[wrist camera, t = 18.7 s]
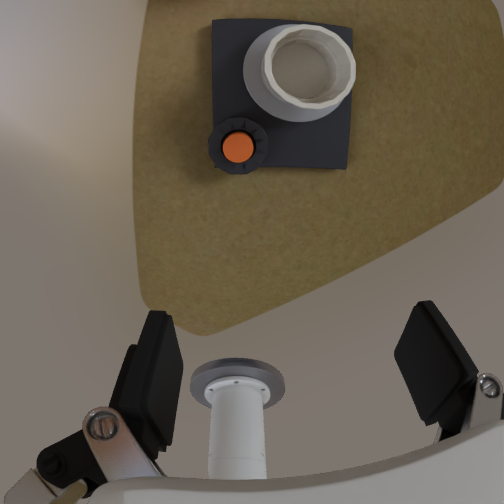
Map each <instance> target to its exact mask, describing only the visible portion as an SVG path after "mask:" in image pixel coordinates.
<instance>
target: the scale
mask: <svg viewBox="0 0 504 504" xmlns="http://www.w3.org/2000/svg"><path fill="white" fill-rule="evenodd" d="M288 24H299V25H301V24H307V25H316V26H322V27H324V28H326V29H328V30H330V31H332V32H334V33H335V34H337V35H338V36H339V37H340V38H341V39H342V40H343V41H344V42H345V43H346V44H347V45H348V46H349V48H350V50H351V52H352V55H353V41H352V28H346V27H341V26H335V25H328V24H321V23H314V22H305V21H294V20H280V19H218V20H212V89H213V132H212V134H211V135H210V137H209V140H208V144H209V155H210V157H211V159H212V160H213V162H214V163H215V168H217V167H218V168H220V169H222V170H224V171H226V172H228V173H229V174H248V173H249V172H251V171H253V170H255V169H257V168H259V167H303V168H327V169H344V170H346V167H347V157H348V146H349V133H350V118H351V99H352V88H351V90H350V92H349V94H348V95H347V96H346V97H344V99H343V101H342V102H341V103H340V105H339V106H338V107H337V108H336V109H335V110H334V111H332V112H331V113H330V114H328V115H326V116H324V117H322V118H320V119H317V120H314V121H309V122H291V121H286V120H283V119H280V118H277V117H275V116H273V115H271V114H269V113H268V112H266V111H265V110H263V109H262V108H261V107H260V106H259V105H258V104H257V103H256V102H255V101H254V99H253V98H252V97H251V95H250V93H249V91H248V90H247V87H246V84H245V81H244V75H243V65H244V60H245V56H246V53H247V51H248V49H249V47H250V46H251V44H252V43H253V42H254V41H255V40H256V39H257V38H258V37H259V36H260V35H261V34H263V33H264V32H266V31H268V30H269V29H272V28H274V27H277V26H281V25H288ZM234 132H243V133H246V134H247V135H248V136H249V137H250V138H251V139H252V142H253V153H252V155H251V157H250V158H249V159H248V160H246V161H244V162H241V163H236V162H232V161H230V160H228V159H227V158H226V156H225V155H224V153H223V144H224V141H225V139H226V138H227V137H228V136H229V135H230V134H231V133H234Z"/></svg>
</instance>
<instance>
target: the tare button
mask: <svg viewBox="0 0 504 504" xmlns="http://www.w3.org/2000/svg"><path fill="white" fill-rule="evenodd" d="M223 153H224V155H225V156H226V158H227V159H228V160H230V161H232V162H236V163H241V162H244V161H246V160H248V159H249V158H250V157H251V155H252V153H253V142H252V139H251V138H250V137H249V136H248V135H247V134H246V133H243V132H234V133H231V134H230V135H229V136H228V137H227V138H226V139H225V141H224V144H223Z"/></svg>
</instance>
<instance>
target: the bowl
mask: <svg viewBox="0 0 504 504" xmlns="http://www.w3.org/2000/svg"><path fill="white" fill-rule="evenodd" d="M261 78H262V80H263V82H264V84H265V87H266V89H267V90H268V91H269V92H270V93H271V94H272V95H273V96H274V97H275V98H276V99H277V100H279V101H281V102H283V103H286V104H288V105H290V106H295V107H299V108H307V109H323V108H326V107H329V106H333V105H336V104H337V103H339V102H340V101H341V100H342V99H343V98H344V97H346V96H347V95H348V94H349V92H350V90H351V88H352V86H353V84H354V82H355V79H356V62H355V60H354V57H353V55H352V52H351V50H350V48H349V46H348V45H347V44H346V43H345V42H344V41H343V40H342V39H341V38H340V37H339V36H338V35H337V34H335V33H334V32H332V31H330V30H328V29H326V28H324V27H322V26H316V25H307V24H301V25H297V26H293V27H289V28H286V29H284V30H283V31H282V32H280V33H279V34H278V35H277V36H275V37H274V38H273V39H272V40H271V42H270V44H269V46H268V48H267V50H266V52H265V54H264V57H263V59H262V61H261Z"/></svg>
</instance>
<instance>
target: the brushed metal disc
mask: <svg viewBox="0 0 504 504" xmlns="http://www.w3.org/2000/svg"><path fill="white" fill-rule="evenodd" d="M297 25H299V24H288V25H281V26H277V27H274V28H272V29H269V30H268V31H266V32H264V33H263V34H261V35H260V36H259V37H258V38H257V39H256V40H255V41H254V42H253V43H252V44H251V46H250V47H249V49H248V51H247V53H246V56H245V60H244V65H243V75H244V81H245V84H246V87H247V90H248V91H249V93H250V95H251V97H252V98H253V99H254V101H255V102H256V103H257V104H258V105H259V106H260V107H261V108H262V109H263V110H265V111H266V112H268V113H269V114H271V115H273V116H275V117H277V118H280V119H283V120H286V121H291V122H309V121H314V120H317V119H320V118H322V117H324V116H326V115H328V114H330V113H331V112H332V111H334V110H335V109H336V108H337V107H338V106H339V105H340V103H341V102H342V101H343V99H344V98H343V99H342V100H341V101H340V102H339V103H337V104H336V105H333V106H329V107H326V108H323V109H307V108H299V107H295V106H290V105H288V104H286V103H283V102H281V101H279V100H277V99H276V98H275V97H274V96H273V95H272V94H271V93H270V92H269V91H268V90H267V89H266V87H265V84H264V82H263V80H262V78H261V61H262V59H263V57H264V54H265V52H266V50H267V48H268V46H269V44H270V42H271V40H272V39H273V38H274V37H275V36H277V35H278V34H279V33H280V32H282V31H283V30H284V29H286V28H289V27H293V26H297Z"/></svg>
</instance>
